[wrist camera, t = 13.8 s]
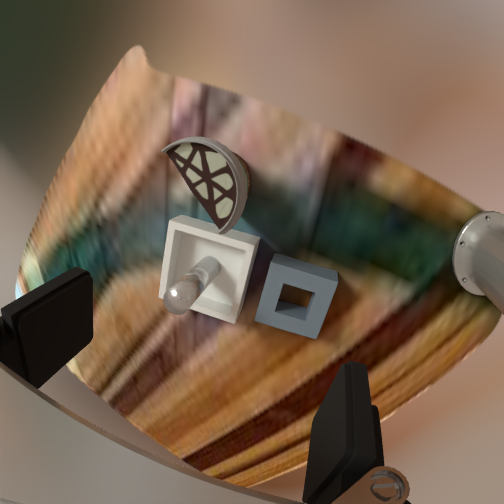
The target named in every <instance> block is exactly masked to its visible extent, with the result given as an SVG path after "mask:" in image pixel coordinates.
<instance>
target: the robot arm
mask: <svg viewBox="0 0 504 504" xmlns="http://www.w3.org/2000/svg"><path fill="white" fill-rule="evenodd" d="M485 217H486V219H485ZM460 242H461V244H460ZM452 262H453V269H454V273H455V276H456V278H457V280H458V281H459V283H460V284H461V285H462V286H463V287H464V288H465V289H466V290H467V291H469V292H470V293H472V294H475V295H486V296H487V297H488V298H489V299H490V300H491V301H492V303H493V304H494V305H495V306H496V307H497V308H498V309H499V310H500V311H501V312H502V313H503V314H504V214H501V213H499V212H495V211H486V212H482V213H479V214H478V215H476V216H474V217H473V218H471V219H470V220H469V221H468V222H467V223H466V224H465V225H464V226H463V228H462V229H461V231H460V233H459V234H458V236H457V239H456V241H455V245H454V249H453V257H452ZM1 313H2V316H1V317H0V504H305V503H307V504H411V503H410V502H409V501H407V500H406V499H407V498H408V496H409V491H410V487H409V483H408V481H407V479H406V477H405V476H404V475H403V474H402V473H401V472H400V471H398V470H396V469H395V468H391V467H388V466H384V456H383V445H382V436H381V427H380V419H379V411H378V407H377V406H375V405H371V397H370V389H369V381H368V373H367V367H366V365H365V364H362V363H358V362H354V361H349V362H348V364H344V363H343V364H342V365H341V367H340V369H339V371H338V373H337V375H336V377H335V379H334V381H333V383H332V385H331V387H330V389H329V390H328V392H327V394H326V396H325V398H324V400H323V402H322V404H321V405H320V407H319V409H318V411H317V413H316V414H315V416H314V419H313V422H312V428H311V437H310V446H309V454H308V462H307V470H306V477H305V485H304V491H303V498H302V501H303V503H301V502H297V501H293V500H289V499H285V498H282V497H278V496H274V495H270V494H266V493H262V492H259V491H255V490H252V489H248V488H245V487H242V486H238V485H235V484H232V483H229V482H226V481H223V480H220V479H217V478H214V477H211V476H208V475H205V474H202V473H199V472H197V471H194V470H191V469H189V468H186V467H183V466H181V465H178V464H176V463H173V462H171V461H168V460H166V459H164V458H161V457H159V456H157V455H154V454H152V453H150V452H148V451H146V450H143V449H141V448H139V447H137V446H135V445H133V444H131V443H128V442H127V441H125V440H122V439H121V438H119V437H117V436H115V435H113V434H111V433H109V432H107V431H105V430H103V429H102V428H100V427H98V426H96V425H94V424H92V423H91V422H89V421H87V420H86V419H84V418H82V417H80V416H79V415H77V414H75V413H74V412H72V411H71V410H69V409H67V408H66V407H64V406H62V405H61V404H59V403H58V402H56V401H55V400H53V399H51V398H50V397H48V396H47V395H45V394H44V393H42V392H41V391H40V390H38V388H40V387H41V386H42V385H43V384H44V383H45V382H46V381H47V380H49V379H50V378H51V377H52V376H53V375H54V374H55V373H56V372H58V370H60V369H61V368H62V367H63V366H64V365H65V364H66V363H68V362H69V361H70V360H71V359H72V358H73V357H74V356H75V355H77V354H78V353H79V352H80V351H81V350H82V349H83V348H84V347H86V346H87V345H88V344H89V343H90V342H91V340H92V338H93V279H92V277H91V276H90V273H89V272H88V271H86V270H83V269H81V268H79V267H74V268H72V269H70V270H68V271H67V272H65V273H63V274H61V275H59V276H57V277H56V278H54V279H52V280H50V281H48V282H46V283H45V284H43V285H41V286H39V287H38V288H36V289H34V290H32V291H30V292H29V293H27V294H25V295H23V296H22V297H20V298H18V299H17V300H15V301H13V302H11V303H10V304H8V305H6V306H5V307H3V308H1Z"/></svg>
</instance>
